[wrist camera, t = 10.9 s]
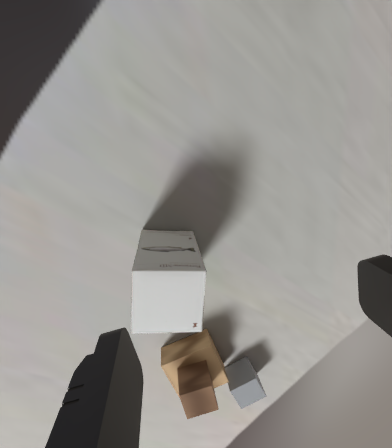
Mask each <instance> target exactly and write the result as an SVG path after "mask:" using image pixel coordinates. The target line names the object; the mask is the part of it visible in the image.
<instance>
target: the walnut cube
mask: <svg viewBox="0 0 392 448" xmlns="http://www.w3.org/2000/svg"><path fill="white" fill-rule="evenodd" d="M177 373H178V386H179V396H180V399H181V402H182V405H183V408H184V411H185V414H186V417H187V419H189V418H193V417H196V416H199V415H202V414H206V413H209V412H212V411H215V410H218V405H217V400H216V396H215V391H214V387H213V382H212V379H211V375H210V372H209V368H208V365H207V361H206V360H204V361H200V362H197V363H193V364H190V365H187V366H183V367H180V368H177Z"/></svg>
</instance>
